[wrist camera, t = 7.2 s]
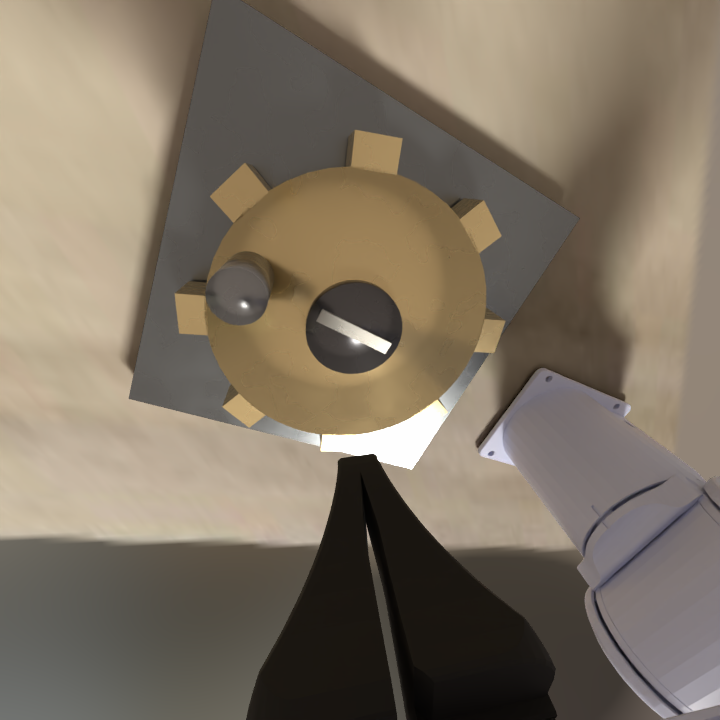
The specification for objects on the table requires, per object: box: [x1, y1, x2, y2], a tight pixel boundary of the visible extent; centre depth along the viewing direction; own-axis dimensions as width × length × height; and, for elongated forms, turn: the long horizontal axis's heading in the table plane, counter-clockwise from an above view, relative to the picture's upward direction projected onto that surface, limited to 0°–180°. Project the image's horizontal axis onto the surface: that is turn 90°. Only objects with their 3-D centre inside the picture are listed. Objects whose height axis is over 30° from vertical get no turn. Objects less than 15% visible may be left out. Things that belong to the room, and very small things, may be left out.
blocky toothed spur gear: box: [175, 130, 505, 451], centre depth 15 cm, size 15×15×5 cm
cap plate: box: [129, 0, 580, 469], centre depth 18 cm, size 18×18×2 cm
